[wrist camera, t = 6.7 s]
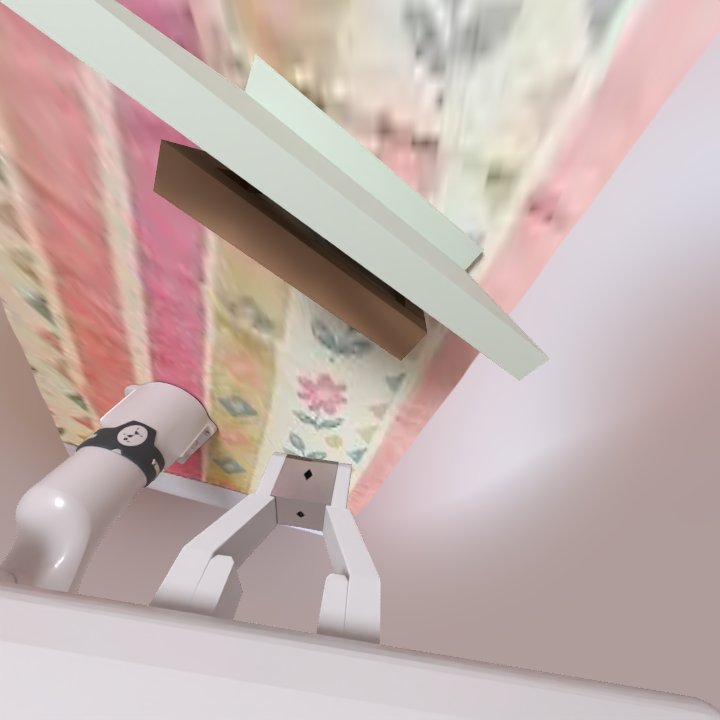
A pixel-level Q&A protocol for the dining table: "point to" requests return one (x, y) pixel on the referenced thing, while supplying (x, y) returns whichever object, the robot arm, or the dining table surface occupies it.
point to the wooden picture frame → (287, 247)
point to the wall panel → (295, 166)
